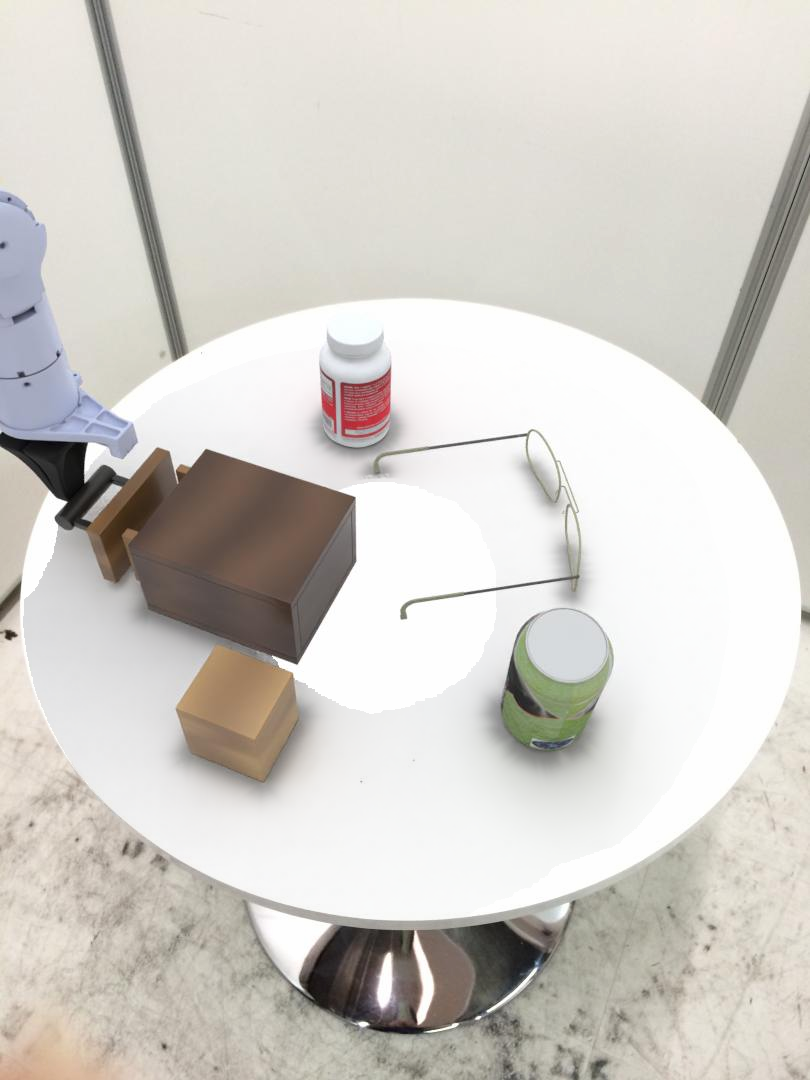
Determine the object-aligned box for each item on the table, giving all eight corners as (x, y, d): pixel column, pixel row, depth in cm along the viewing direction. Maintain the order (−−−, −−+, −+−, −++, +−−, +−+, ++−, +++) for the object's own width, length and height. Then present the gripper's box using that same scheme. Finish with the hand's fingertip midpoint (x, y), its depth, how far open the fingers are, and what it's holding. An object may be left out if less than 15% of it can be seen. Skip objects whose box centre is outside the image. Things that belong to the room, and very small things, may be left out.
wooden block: (189, 752, 58) (174, 708, 54) (227, 690, 62) (216, 643, 57) (263, 783, 57) (254, 740, 53) (298, 718, 60) (293, 672, 56)
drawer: (51, 559, 68) (28, 509, 63) (120, 480, 73) (104, 429, 69) (236, 628, 64) (226, 580, 60) (293, 539, 70) (289, 489, 65)
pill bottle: (402, 420, 81) (406, 320, 72) (367, 459, 77) (367, 359, 69) (345, 396, 83) (343, 296, 74) (309, 434, 79) (302, 333, 71)
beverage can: (583, 684, 63) (620, 583, 54) (586, 778, 58) (627, 686, 49) (496, 675, 63) (518, 573, 54) (493, 768, 58) (517, 675, 49)
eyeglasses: (588, 600, 68) (602, 560, 64) (400, 620, 66) (402, 580, 62) (537, 458, 78) (546, 415, 74) (372, 472, 76) (373, 429, 72)
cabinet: (148, 609, 66) (127, 545, 60) (218, 514, 72) (205, 448, 67) (297, 665, 63) (290, 603, 57) (356, 561, 70) (356, 496, 64)
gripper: (145, 346, 59) (177, 485, 69) (-31, 294, 62) (26, 434, 72) (82, 409, 55) (128, 547, 65) (-102, 350, 58) (-31, 490, 68)
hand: (70, 492), depth 68 cm, fingers closed
